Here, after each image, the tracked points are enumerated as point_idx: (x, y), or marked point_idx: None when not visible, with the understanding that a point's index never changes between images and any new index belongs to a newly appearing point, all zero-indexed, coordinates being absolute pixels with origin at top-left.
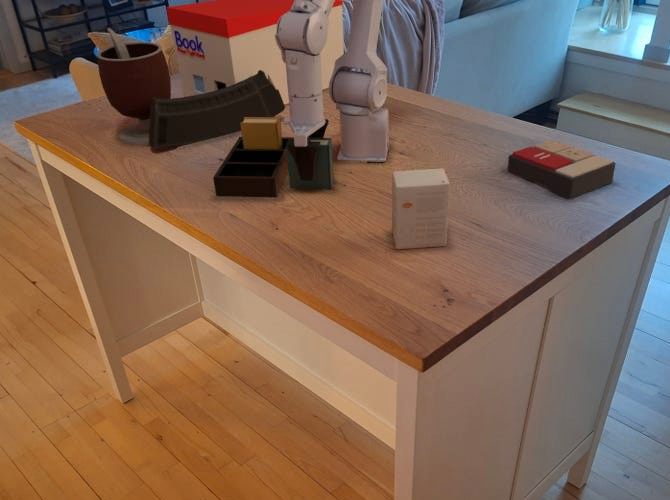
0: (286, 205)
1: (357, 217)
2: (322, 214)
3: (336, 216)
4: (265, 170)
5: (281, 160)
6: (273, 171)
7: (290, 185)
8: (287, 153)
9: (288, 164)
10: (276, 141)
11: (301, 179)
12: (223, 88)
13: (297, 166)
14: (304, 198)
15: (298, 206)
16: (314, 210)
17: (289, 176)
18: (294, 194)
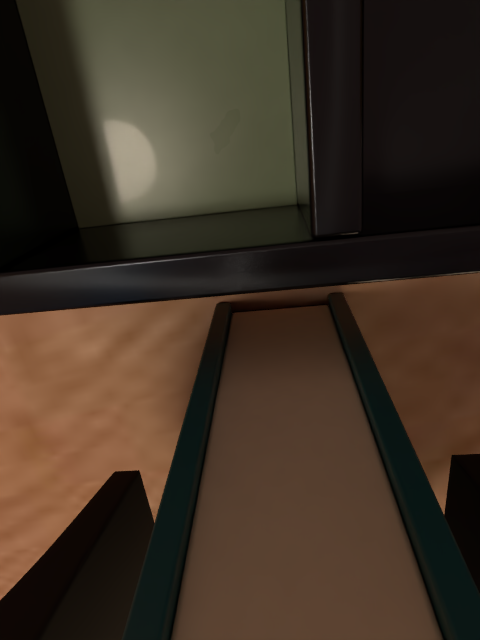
0: (26, 332)
1: None
2: (11, 505)
3: (19, 551)
4: (297, 78)
5: (421, 258)
6: (301, 174)
7: (212, 323)
8: (155, 533)
9: (185, 425)
10: None
11: (108, 479)
12: None
13: (28, 575)
14: (140, 402)
15: (41, 395)
16: (32, 470)
17: (202, 357)
18: (174, 339)
